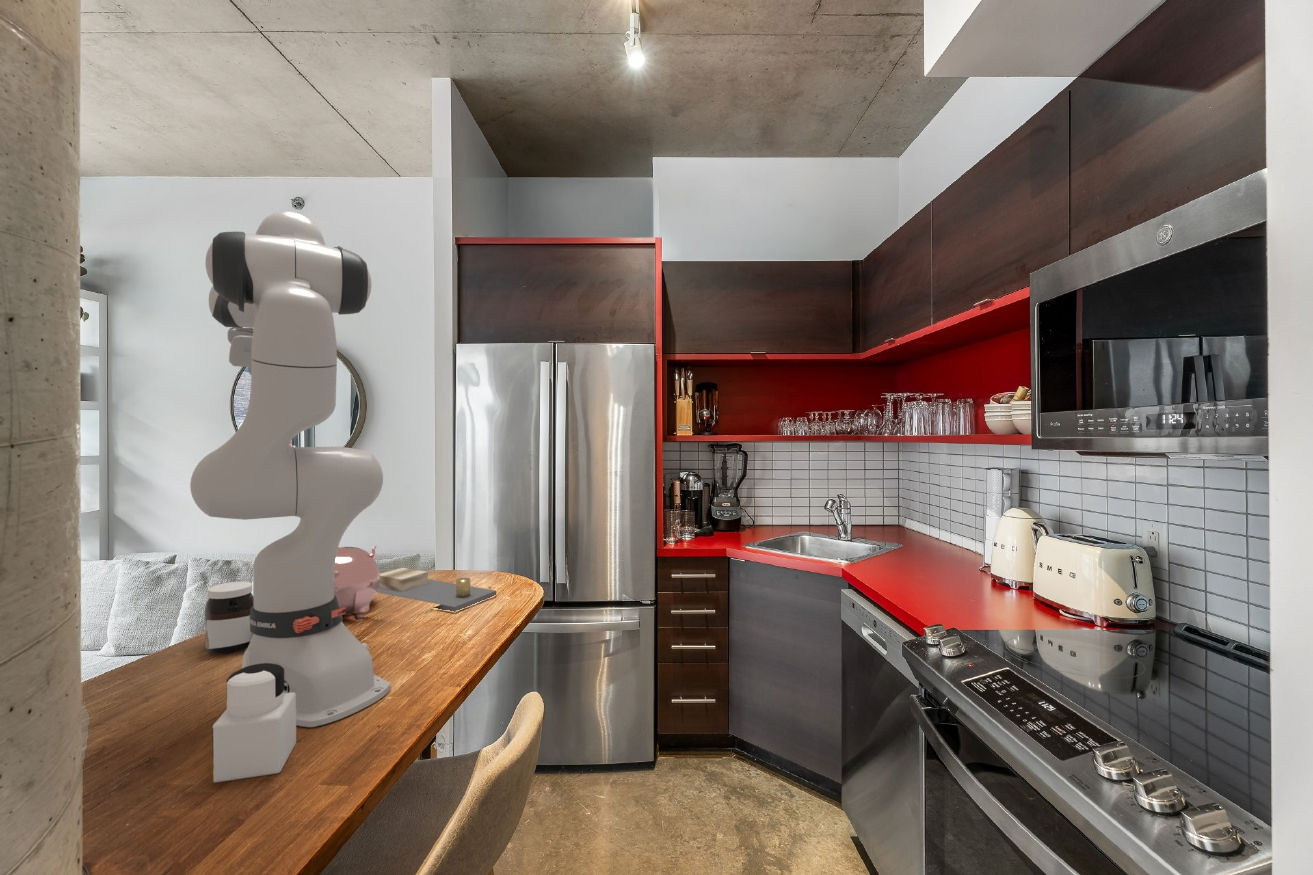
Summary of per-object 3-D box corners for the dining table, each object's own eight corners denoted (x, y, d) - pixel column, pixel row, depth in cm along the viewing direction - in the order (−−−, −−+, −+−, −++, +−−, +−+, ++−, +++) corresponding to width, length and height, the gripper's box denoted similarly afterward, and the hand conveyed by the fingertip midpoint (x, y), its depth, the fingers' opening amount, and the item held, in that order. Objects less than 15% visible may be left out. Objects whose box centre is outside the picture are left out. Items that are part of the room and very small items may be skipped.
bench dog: (473, 595, 140) (473, 578, 140) (463, 598, 137) (463, 581, 137) (462, 593, 141) (462, 576, 141) (453, 596, 139) (453, 580, 138)
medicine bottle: (234, 751, 77) (234, 661, 76) (296, 743, 79) (296, 655, 78) (211, 784, 70) (210, 685, 70) (280, 774, 72) (279, 677, 72)
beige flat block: (427, 583, 149) (427, 571, 149) (402, 591, 142) (402, 579, 142) (402, 579, 153) (402, 567, 153) (376, 586, 146) (376, 574, 146)
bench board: (496, 596, 144) (496, 590, 144) (454, 613, 131) (454, 606, 131) (407, 581, 157) (407, 575, 157) (361, 595, 144) (361, 589, 144)
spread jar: (203, 644, 112) (202, 584, 112) (272, 630, 120) (272, 574, 119) (208, 664, 103) (208, 599, 103) (283, 648, 111) (283, 587, 110)
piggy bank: (285, 613, 130) (285, 542, 130) (374, 600, 140) (374, 534, 140) (287, 635, 117) (286, 556, 117) (385, 619, 127) (384, 546, 127)
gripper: (225, 328, 127) (226, 387, 132) (332, 341, 137) (329, 394, 143) (229, 320, 132) (230, 376, 137) (333, 332, 142) (329, 384, 148)
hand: (281, 386), depth 140 cm, fingers open, 8 cm apart
